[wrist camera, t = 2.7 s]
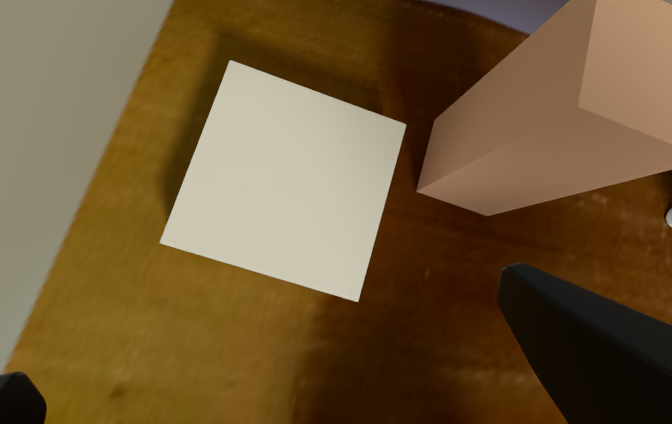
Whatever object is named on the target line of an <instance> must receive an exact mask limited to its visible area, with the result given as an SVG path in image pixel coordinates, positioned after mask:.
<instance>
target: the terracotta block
mask: <svg viewBox="0 0 672 424" xmlns="http://www.w3.org/2000/svg"><path fill="white" fill-rule="evenodd" d="M668 170H672V5H671V4H669V3H667V2H665V1H663V0H570V1H569V2H568V3H567V4H566V5H565V6H563V8H561V9H560V10H559V11H558V12H557V13H555V14H554V15H553V16H552V17H551V18H550V19H549V20H548V21H546V22H545V23H544V24H543V25H542V26H541V27H540V28H539V29H537V30H536V31H535V32H534V33H533V34H532V35H530V36H529V37H528V38H527V39H526V40H525V41H524V42H523V43H521V44H520V45H519V46H518V47H517V48H516V49H515V50H513V51H512V52H511V53H510V54H509V55H508V56H507V57H506V58H504V59H503V60H502V61H501V62H500V63H499V64H498V65H496V66H495V67H494V68H493V69H492V70H491V71H490V72H488V73H487V74H486V75H485V76H484V77H483V78H482V79H481V80H479V81H478V82H477V83H476V84H475V85H474V86H473V87H471V88H470V89H469V90H468V91H467V92H466V93H465V94H464V95H462V96H461V97H460V98H459V99H458V100H457V101H456V102H454V103H453V104H452V105H451V106H450V107H449V108H448V109H446V110H445V111H444V112H443V113H442V114H441V115H440V116H439V117H437V118H436V119H435V120H434V124H433V128H432V132H431V136H430V140H429V143H428V147H427V151H426V155H425V159H424V163H423V167H422V171H421V175H420V178H419V182H418V186H417V190H416V192H419V193H422V194H425V195H427V196H430V197H433V198H436V199H439V200H442V201H445V202H448V203H451V204H454V205H456V206H459V207H462V208H465V209H468V210H471V211H474V212H477V213H480V214H483V215H486V216H490V215H494V214H498V213H502V212H506V211H510V210H514V209H518V208H522V207H526V206H530V205H534V204H538V203H542V202H546V201H550V200H554V199H558V198H562V197H565V196H569V195H573V194H577V193H581V192H585V191H589V190H593V189H597V188H601V187H605V186H609V185H613V184H617V183H621V182H625V181H629V180H633V179H637V178H641V177H645V176H649V175H652V174H656V173H660V172H664V171H668Z"/></svg>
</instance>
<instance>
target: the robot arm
mask: <svg viewBox="0 0 672 424" xmlns="http://www.w3.org/2000/svg"><path fill="white" fill-rule="evenodd" d="M497 302H498V305H499V308H500V310H501V312H502V314H503V315H504V317H505V319H506V321H507V323H508V325H509V327H510V328H511V330H512V332H513V334H514V336H515V338H516V340H517V341H518V343H519V345H520V347H521V349H522V351H523V352H524V354H525V356H526V358H527V360H528V362H529V364H530V365H531V367H532V369H533V370H534V372H535V374H536V375H537V377H538V379H539V380H540V382H541V383H542V385H543V386H544V388H545V389H546V391H547V392H548V394H549V395H550V397H551V398H552V400H553V401H554V403H555V404H556V406H557V407H558V408H559V410H560V411H561V413H562V414H563V416H564V417H565V419H566V420H567V422H568V423H569V424H672V325H670V324H667V323H665V322H662V321H660V320H658V319H655V318H653V317H651V316H648V315H646V314H644V313H641V312H639V311H637V310H634V309H632V308H629V307H627V306H625V305H622V304H620V303H618V302H615V301H613V300H611V299H608V298H606V297H603V296H601V295H599V294H596V293H594V292H592V291H589V290H587V289H585V288H582V287H580V286H578V285H575V284H573V283H570V282H568V281H566V280H563V279H561V278H559V277H556V276H554V275H552V274H549V273H547V272H545V271H542V270H540V269H537V268H535V267H533V266H530V265H528V264H525V263H516V264H512V265H507V266H505V267H503V268H502V270H501V274H500V280H499V286H498V292H497ZM46 409H47V407H46V402H45V399H44V398H43V396H42V395H41V393H40V392H39V391H38V389H37V388H36V387H35V385H34V384H33V383H32V381H31V380H30V378H29V377H28V376H27V375H26V374H25V373H23V372H12V373H8V374H3V375H0V424H44V422H45V417H46Z"/></svg>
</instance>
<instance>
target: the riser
mask: <svg viewBox="0 0 672 424" xmlns="http://www.w3.org/2000/svg"><path fill="white" fill-rule="evenodd" d="M405 128H406V124H404V123H401V122H398V121H395V120H393V119H390V118H387V117H385V116H382V115H379V114H376V113H374V112H371V111H368V110H365V109H363V108H360V107H357V106H355V105H352V104H349V103H346V102H344V101H341V100H338V99H335V98H333V97H330V96H327V95H325V94H322V93H319V92H316V91H314V90H311V89H308V88H305V87H303V86H300V85H297V84H295V83H292V82H289V81H286V80H284V79H281V78H278V77H275V76H273V75H270V74H267V73H265V72H262V71H259V70H256V69H254V68H251V67H248V66H246V65H243V64H240V63H237V62H235V61H232V60H230V61H229V64H228V67H227V69H226V72H225V74H224V77H223V79H222V82H221V85H220V87H219V90H218V92H217V95H216V98H215V100H214V103H213V105H212V108H211V111H210V113H209V116H208V118H207V121H206V124H205V126H204V129H203V131H202V134H201V137H200V139H199V142H198V144H197V147H196V150H195V152H194V155H193V157H192V160H191V163H190V165H189V168H188V170H187V173H186V176H185V178H184V181H183V183H182V186H181V189H180V191H179V194H178V196H177V199H176V202H175V204H174V207H173V209H172V212H171V215H170V217H169V220H168V222H167V225H166V227H165V230H164V233H163V235H162V238H161V240H160V243H161V244H164V245H167V246H171V247H174V248H177V249H181V250H184V251H188V252H191V253H194V254H198V255H201V256H204V257H208V258H211V259H214V260H218V261H221V262H224V263H228V264H231V265H235V266H238V267H241V268H245V269H248V270H251V271H255V272H258V273H261V274H265V275H268V276H272V277H275V278H278V279H282V280H285V281H288V282H292V283H295V284H298V285H302V286H305V287H308V288H312V289H315V290H319V291H322V292H325V293H329V294H332V295H335V296H339V297H342V298H345V299H349V300H352V301H356V302H358V300H359V297H360V293H361V289H362V286H363V282H364V278H365V275H366V271H367V267H368V264H369V260H370V256H371V253H372V249H373V245H374V242H375V238H376V234H377V231H378V227H379V223H380V220H381V216H382V212H383V209H384V205H385V201H386V198H387V194H388V190H389V187H390V183H391V179H392V176H393V172H394V168H395V165H396V161H397V157H398V154H399V150H400V146H401V143H402V139H403V135H404V132H405Z"/></svg>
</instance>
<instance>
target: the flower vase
mask: <svg viewBox="0 0 672 424" xmlns="http://www.w3.org/2000/svg"><path fill="white" fill-rule="evenodd" d="M666 221H667V224H668V225H669V226H670V227H672V208H671V209H670V210H669V211H668V213H667V215H666Z"/></svg>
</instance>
